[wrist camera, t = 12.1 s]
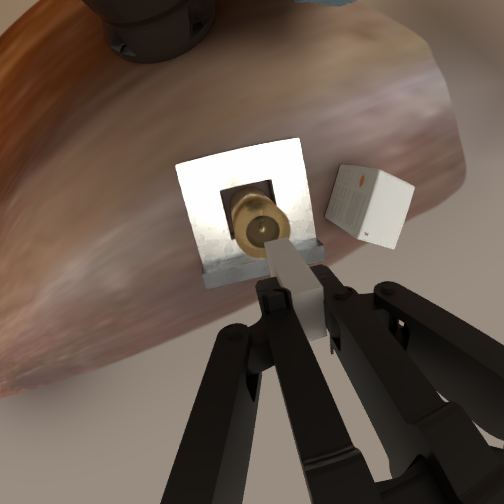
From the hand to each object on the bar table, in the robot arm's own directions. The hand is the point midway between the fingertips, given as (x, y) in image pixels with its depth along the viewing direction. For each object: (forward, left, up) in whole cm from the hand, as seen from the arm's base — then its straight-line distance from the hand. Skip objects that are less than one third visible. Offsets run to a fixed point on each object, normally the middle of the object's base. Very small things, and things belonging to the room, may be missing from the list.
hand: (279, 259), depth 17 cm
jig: (0, 0, -19) cm, 19 cm away
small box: (+2, +14, -20) cm, 24 cm away
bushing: (0, 0, -19) cm, 19 cm away
